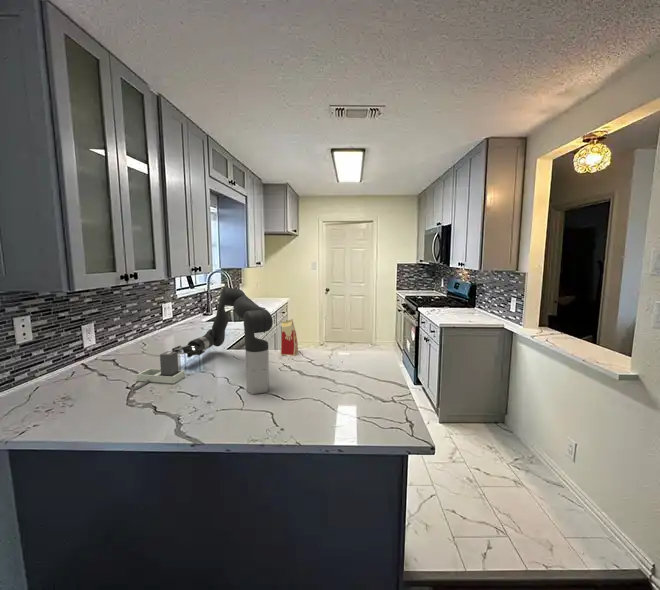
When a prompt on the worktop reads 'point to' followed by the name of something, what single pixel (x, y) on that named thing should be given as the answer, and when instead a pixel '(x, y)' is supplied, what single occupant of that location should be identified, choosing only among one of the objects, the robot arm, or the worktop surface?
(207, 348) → the robot arm
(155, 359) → the worktop surface
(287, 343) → the milk carton
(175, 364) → the block
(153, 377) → the two-compartment tray
